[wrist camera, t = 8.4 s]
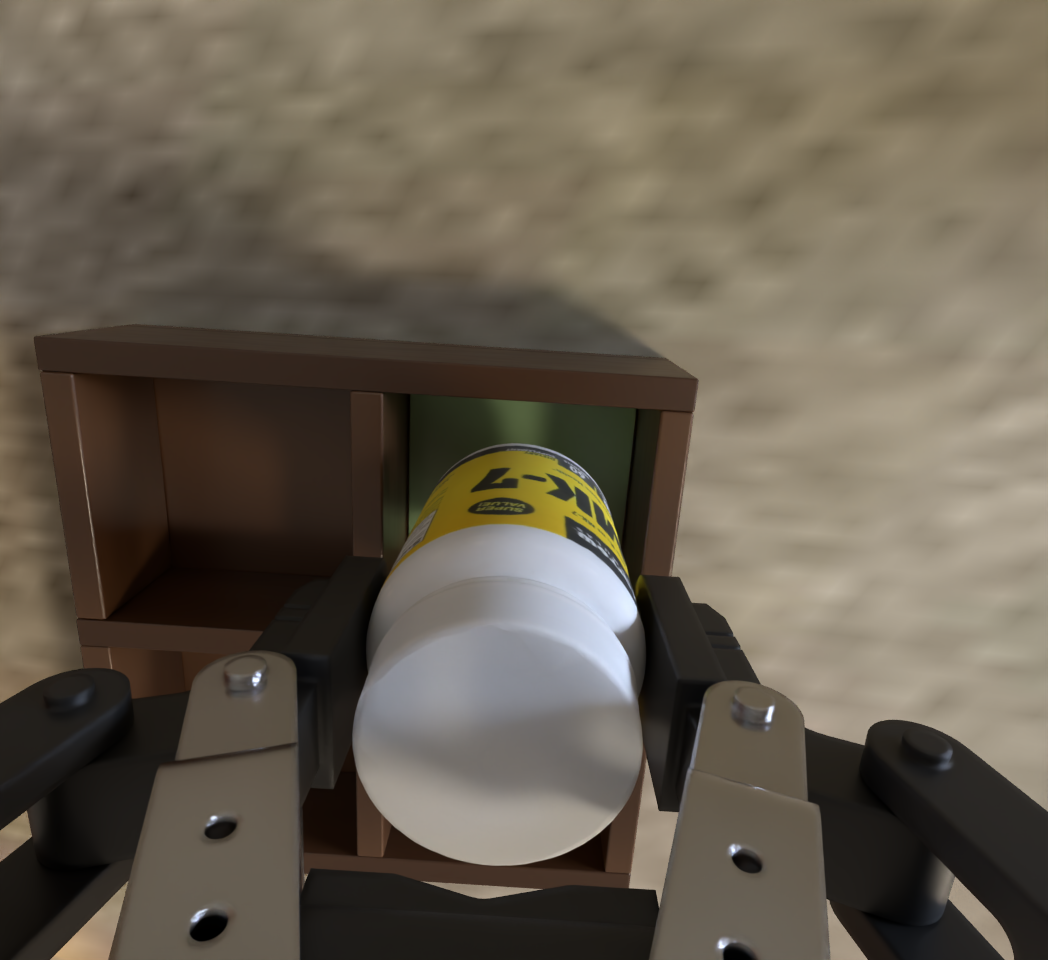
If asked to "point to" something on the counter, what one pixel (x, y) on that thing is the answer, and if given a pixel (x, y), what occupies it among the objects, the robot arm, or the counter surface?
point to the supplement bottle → (504, 665)
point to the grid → (325, 506)
